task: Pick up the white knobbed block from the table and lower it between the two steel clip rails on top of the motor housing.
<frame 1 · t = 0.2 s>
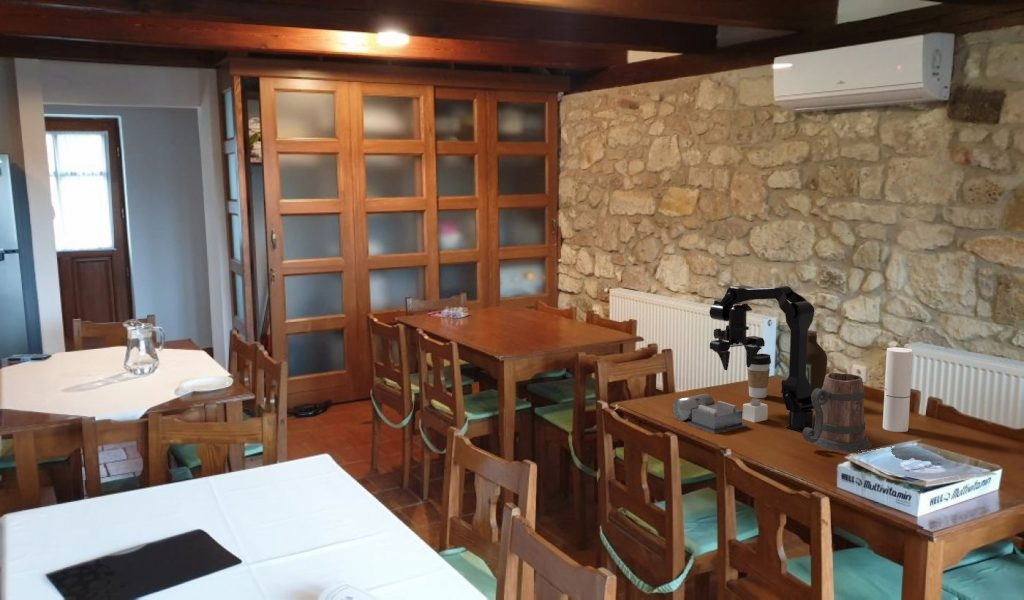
hand: (736, 368, 272), 14 cm above the table, tool pointing down, fingers open, 9 cm apart
white knobbed block: (754, 419, 262), on the table
tankard: (833, 444, 237), on the table
olive oil: (809, 402, 281), on the table
cylindrical container: (895, 429, 250), on the table
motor: (716, 425, 256), on the table
coffee cup: (757, 396, 290), on the table
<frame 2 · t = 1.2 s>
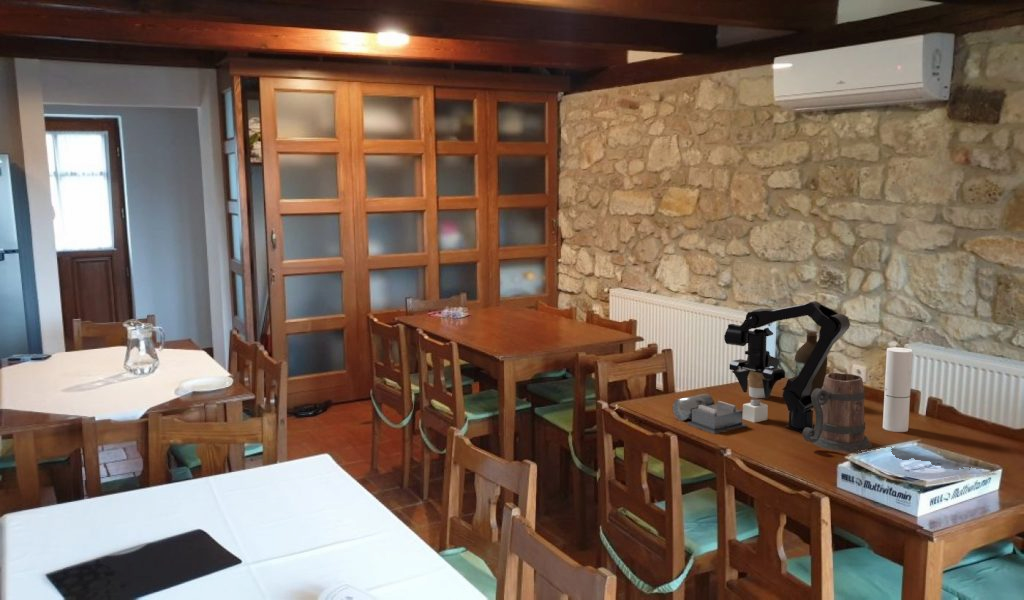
hand: (755, 395, 261), 8 cm above the table, tool pointing down, fingers open, 9 cm apart
nothing on the table moved.
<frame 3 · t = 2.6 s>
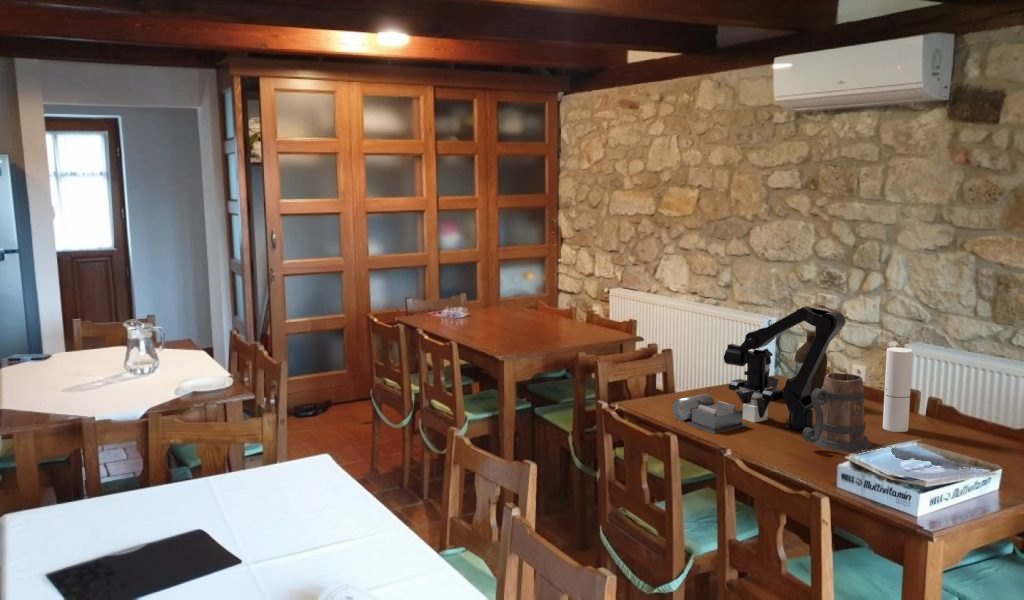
hand: (755, 415, 262), 1 cm above the table, tool pointing down, fingers closed on white knobbed block, 5 cm apart
white knobbed block: (754, 419, 262), on the table, touching gripper
everything else where it was.
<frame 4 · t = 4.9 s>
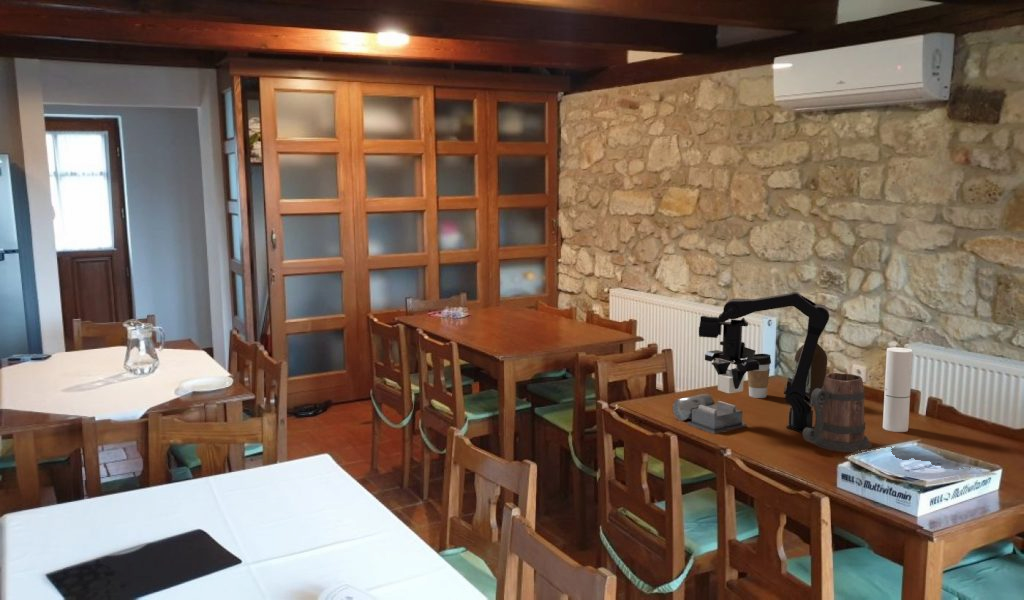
hand: (730, 386, 257), 12 cm above the table, tool pointing down, fingers closed on white knobbed block, 5 cm apart
white knobbed block: (730, 390, 257), point 11 cm above the table, touching gripper
everything else where it was.
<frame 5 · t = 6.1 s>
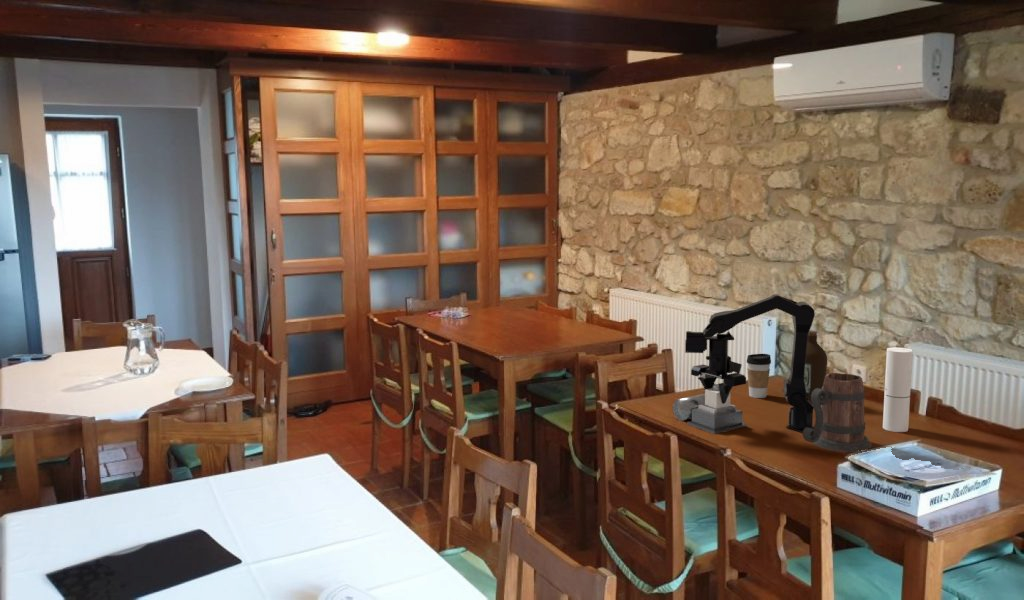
hand: (717, 401, 255), 8 cm above the table, tool pointing down, fingers closed on white knobbed block, 5 cm apart
white knobbed block: (717, 405, 256), point 7 cm above the table, touching gripper
everything else where it was.
when the fingers open (7 cm above the table, at t = 7.0 s): white knobbed block drops 1 cm, resting on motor.
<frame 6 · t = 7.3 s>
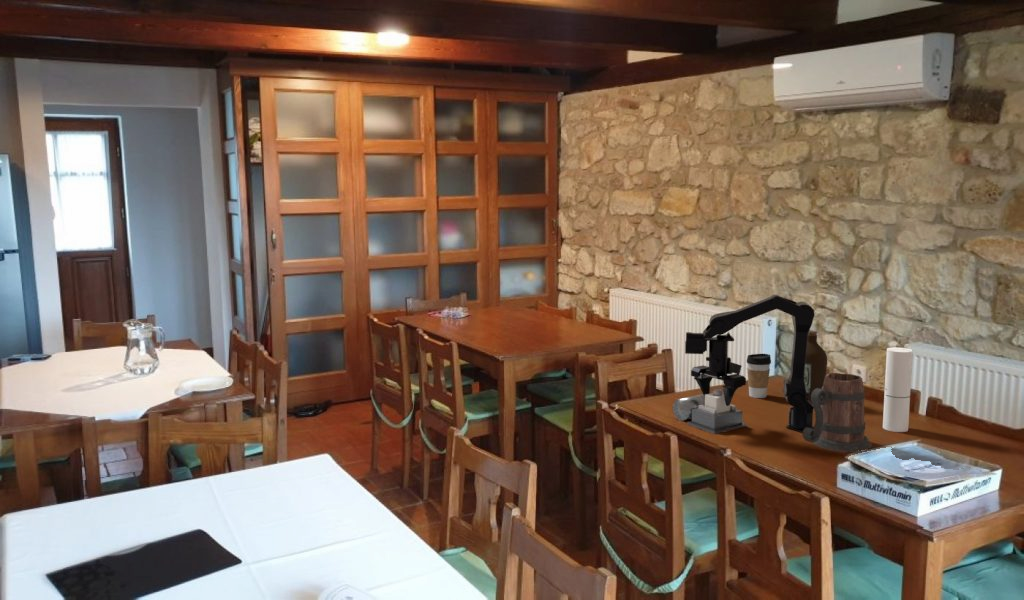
hand: (717, 402, 255), 7 cm above the table, tool pointing down, fingers open, 9 cm apart
white knobbed block: (717, 410, 256), point 5 cm above the table, touching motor
everything else where it was.
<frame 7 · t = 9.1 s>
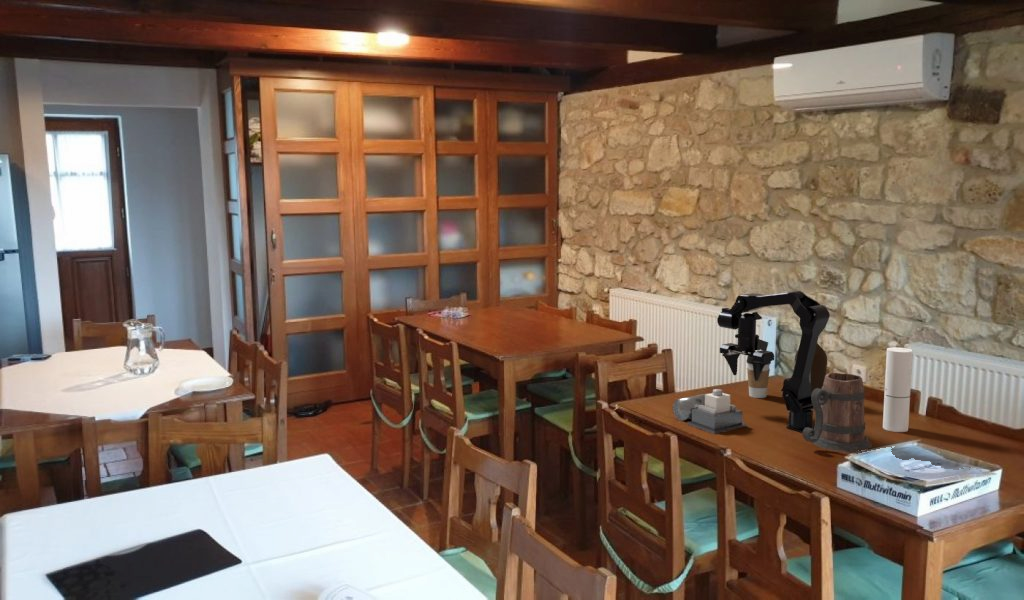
hand: (745, 377, 267), 12 cm above the table, tool pointing down, fingers open, 9 cm apart
nothing on the table moved.
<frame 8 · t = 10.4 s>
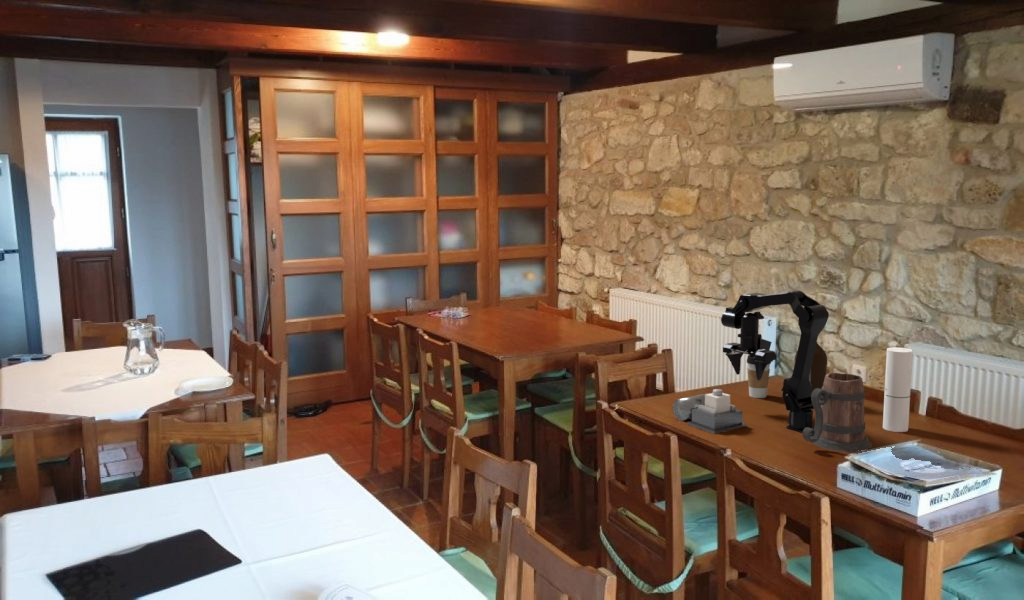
hand: (748, 377, 268), 12 cm above the table, tool pointing down, fingers open, 9 cm apart
nothing on the table moved.
at the end: white knobbed block 0.1 cm off-centre on the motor, point 5.0 cm above the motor's base; white knobbed block tilted 0°; the gripper is holding nothing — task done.
